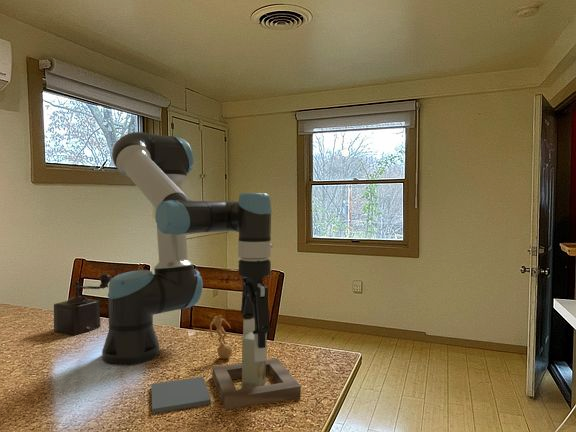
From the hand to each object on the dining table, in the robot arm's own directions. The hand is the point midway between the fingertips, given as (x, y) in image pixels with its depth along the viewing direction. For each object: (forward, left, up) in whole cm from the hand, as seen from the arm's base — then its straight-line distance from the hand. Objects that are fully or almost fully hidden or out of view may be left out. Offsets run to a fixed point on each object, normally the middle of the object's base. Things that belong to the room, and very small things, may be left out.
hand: (254, 352), depth 94 cm
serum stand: (0, 0, -8) cm, 8 cm away
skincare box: (0, 0, -8) cm, 8 cm away
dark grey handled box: (-62, -44, -8) cm, 76 cm away
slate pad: (-1, -17, -8) cm, 19 cm away
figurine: (-20, -4, -8) cm, 22 cm away
